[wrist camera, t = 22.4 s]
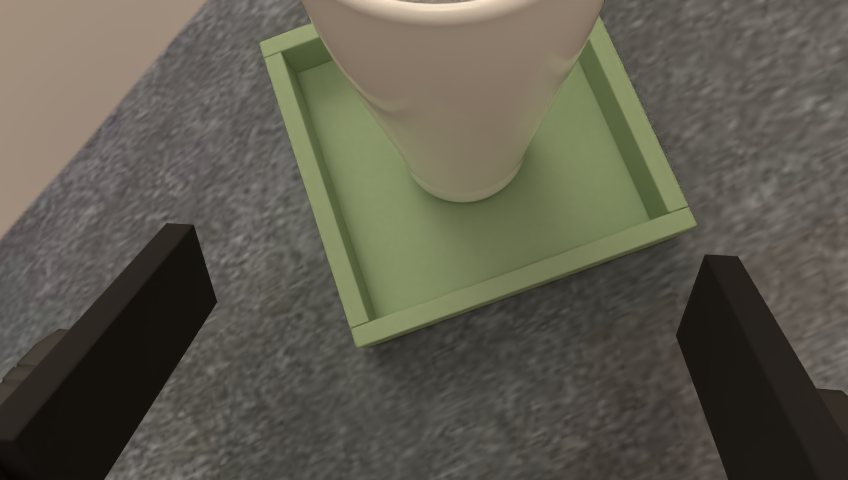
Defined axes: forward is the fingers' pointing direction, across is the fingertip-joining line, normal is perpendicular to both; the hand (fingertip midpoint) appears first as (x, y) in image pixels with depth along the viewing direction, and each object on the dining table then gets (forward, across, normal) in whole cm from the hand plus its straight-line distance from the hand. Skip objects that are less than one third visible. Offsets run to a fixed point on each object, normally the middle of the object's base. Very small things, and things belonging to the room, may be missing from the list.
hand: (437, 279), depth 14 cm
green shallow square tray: (+11, 0, -2) cm, 11 cm away
